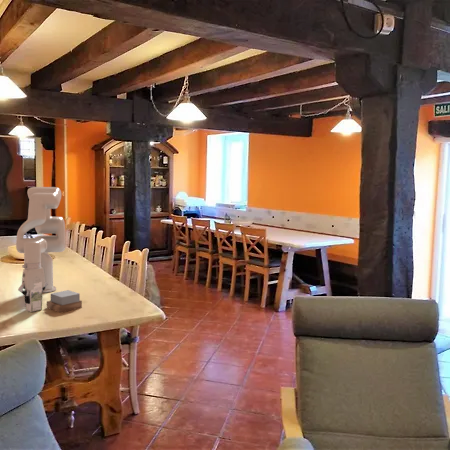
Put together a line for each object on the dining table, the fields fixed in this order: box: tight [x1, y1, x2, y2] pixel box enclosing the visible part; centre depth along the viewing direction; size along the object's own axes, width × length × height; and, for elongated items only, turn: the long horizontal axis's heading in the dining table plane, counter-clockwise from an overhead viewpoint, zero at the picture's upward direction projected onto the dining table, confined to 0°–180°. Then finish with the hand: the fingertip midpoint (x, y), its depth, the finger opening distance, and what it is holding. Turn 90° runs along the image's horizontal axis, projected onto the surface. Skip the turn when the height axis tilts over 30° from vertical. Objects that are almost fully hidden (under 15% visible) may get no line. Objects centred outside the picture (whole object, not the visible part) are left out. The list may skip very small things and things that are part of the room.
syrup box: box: [25, 282, 43, 313], centre depth 231 cm, size 6×6×14 cm
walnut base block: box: [46, 299, 83, 314], centre depth 237 cm, size 12×12×4 cm
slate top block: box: [50, 289, 81, 305], centre depth 236 cm, size 10×10×4 cm
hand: (33, 301), depth 231 cm, fingers closed on syrup box, 5 cm apart
